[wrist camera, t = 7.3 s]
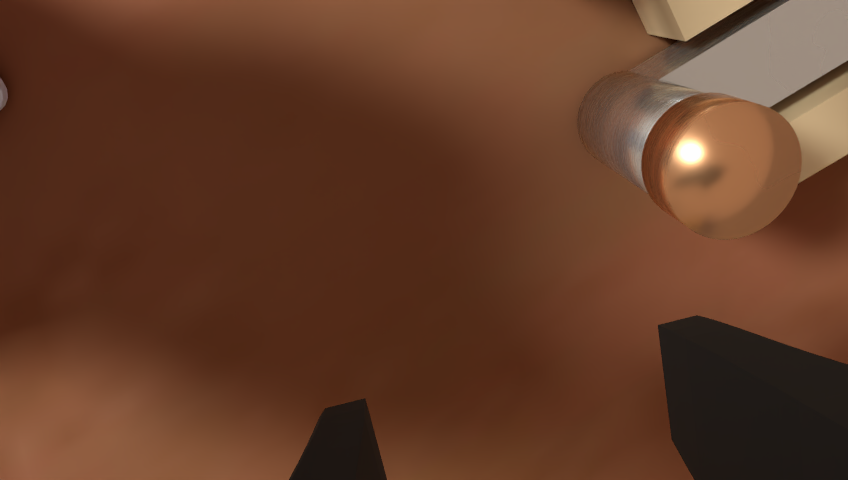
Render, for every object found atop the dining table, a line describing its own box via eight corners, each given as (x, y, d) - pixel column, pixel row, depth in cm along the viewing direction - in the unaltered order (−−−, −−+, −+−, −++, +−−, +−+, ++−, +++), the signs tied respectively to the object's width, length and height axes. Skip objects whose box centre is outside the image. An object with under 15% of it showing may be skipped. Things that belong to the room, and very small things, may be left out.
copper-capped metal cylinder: (601, 187, 21) (701, 264, 16) (555, 101, 20) (645, 151, 15) (851, 36, 21) (1044, 62, 15) (815, -58, 20) (1006, -67, 14)
